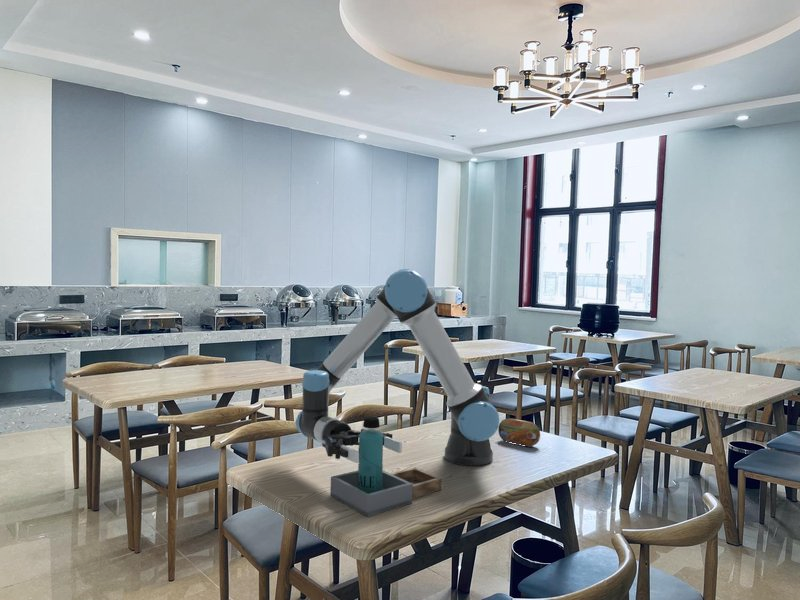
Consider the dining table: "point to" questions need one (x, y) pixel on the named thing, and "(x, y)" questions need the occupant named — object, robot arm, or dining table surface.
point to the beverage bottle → (370, 457)
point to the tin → (519, 432)
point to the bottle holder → (427, 481)
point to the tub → (388, 498)
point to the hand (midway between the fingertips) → (379, 452)
